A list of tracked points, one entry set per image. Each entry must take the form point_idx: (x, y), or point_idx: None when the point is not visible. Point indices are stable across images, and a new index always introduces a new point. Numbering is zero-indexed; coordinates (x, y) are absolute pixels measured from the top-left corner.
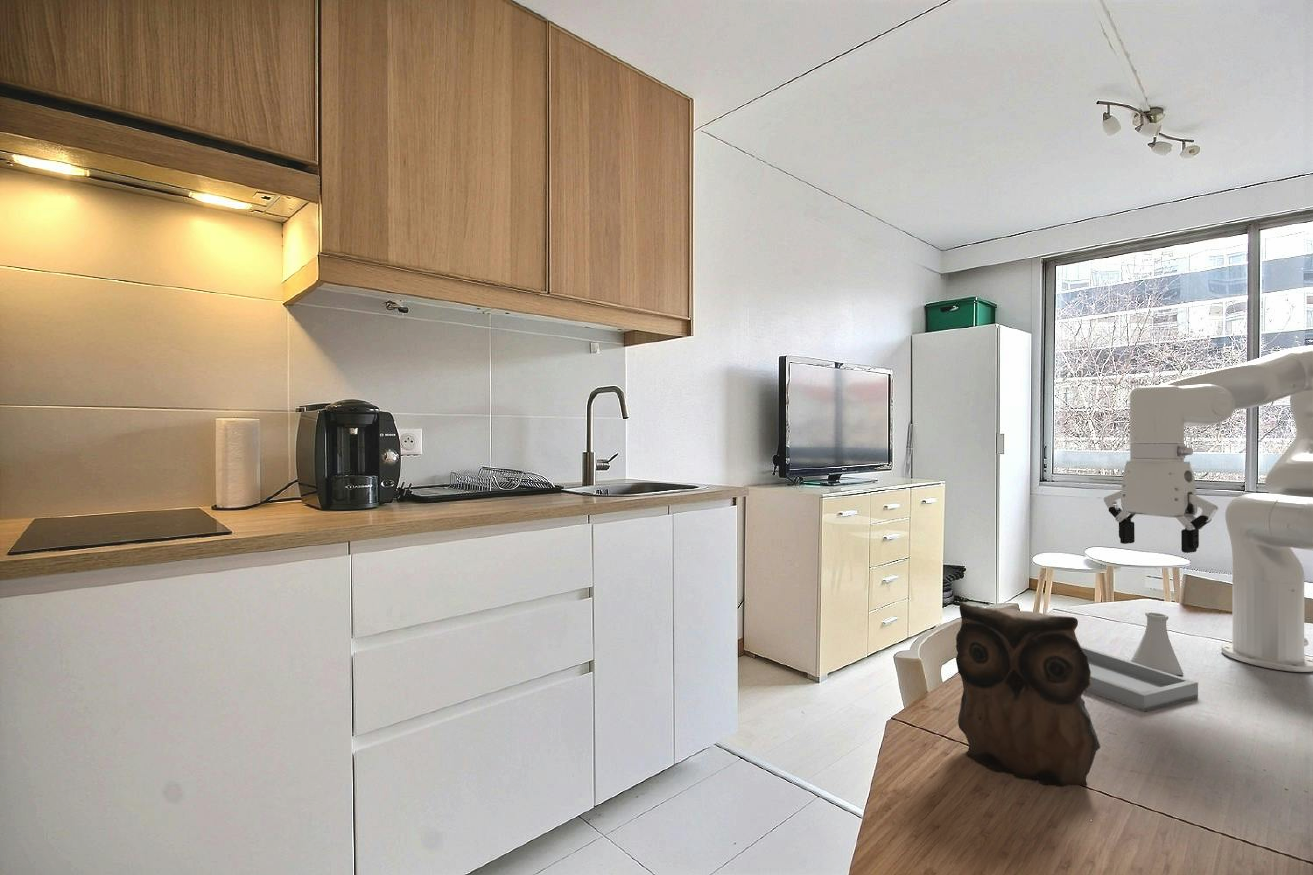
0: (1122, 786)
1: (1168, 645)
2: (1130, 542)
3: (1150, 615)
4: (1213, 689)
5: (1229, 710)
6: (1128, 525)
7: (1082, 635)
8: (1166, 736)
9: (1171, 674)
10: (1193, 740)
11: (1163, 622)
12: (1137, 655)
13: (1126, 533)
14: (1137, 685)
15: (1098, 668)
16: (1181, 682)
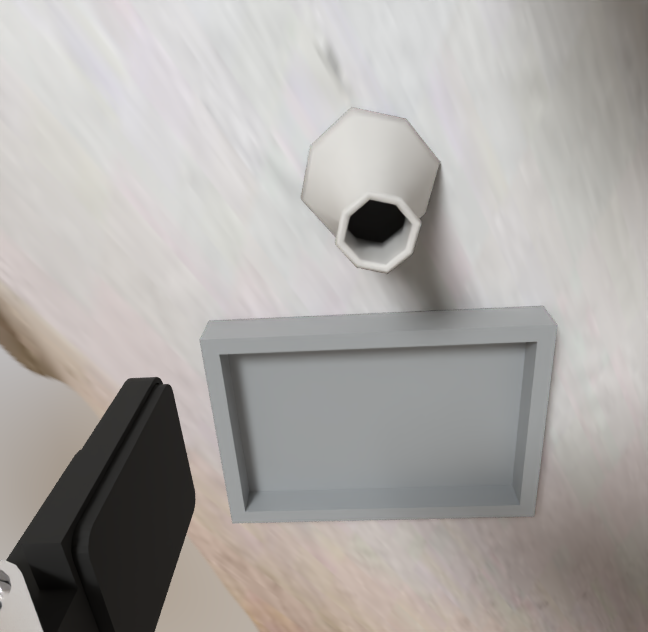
0: None
1: (414, 202)
2: (179, 432)
3: (374, 269)
4: (535, 195)
5: (617, 315)
6: (125, 606)
7: (22, 61)
8: (597, 546)
9: (491, 329)
10: (631, 523)
11: (406, 229)
12: (336, 232)
13: (166, 556)
14: (445, 392)
15: (328, 370)
16: (535, 365)
